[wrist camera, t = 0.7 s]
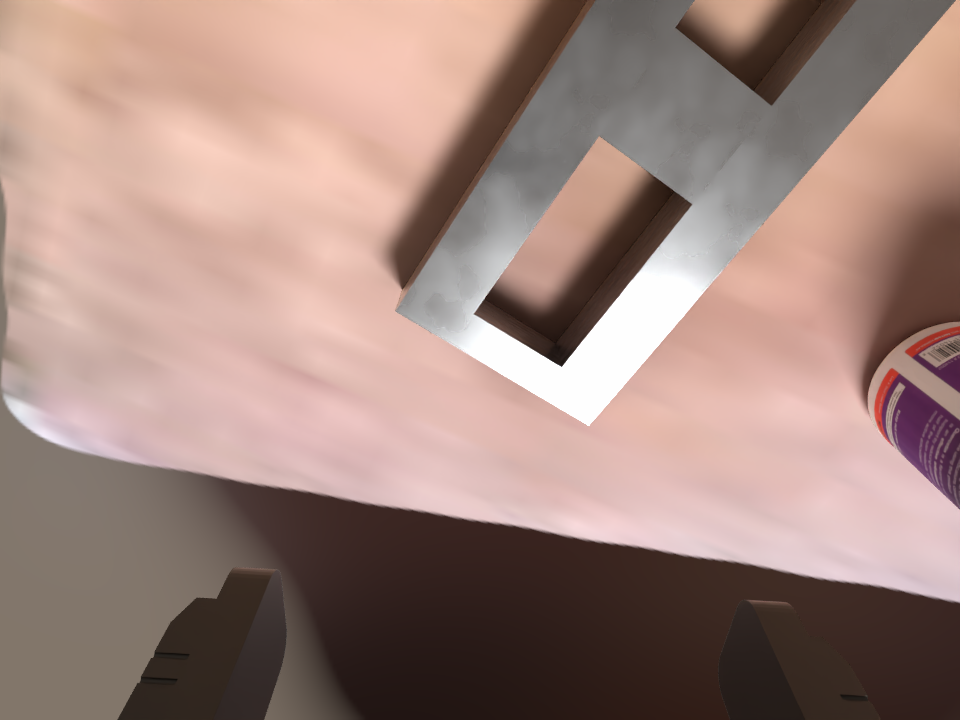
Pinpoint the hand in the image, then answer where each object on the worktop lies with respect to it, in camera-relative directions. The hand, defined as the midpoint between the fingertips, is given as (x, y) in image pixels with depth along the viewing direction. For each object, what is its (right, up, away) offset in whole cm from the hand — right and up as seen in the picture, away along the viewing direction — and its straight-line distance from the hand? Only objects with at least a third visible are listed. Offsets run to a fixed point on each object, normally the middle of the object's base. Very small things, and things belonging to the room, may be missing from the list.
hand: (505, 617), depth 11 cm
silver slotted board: (+8, +15, +20) cm, 26 cm away
